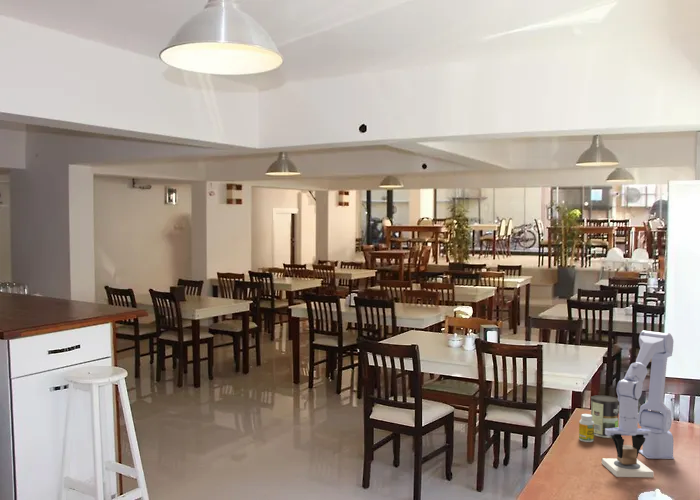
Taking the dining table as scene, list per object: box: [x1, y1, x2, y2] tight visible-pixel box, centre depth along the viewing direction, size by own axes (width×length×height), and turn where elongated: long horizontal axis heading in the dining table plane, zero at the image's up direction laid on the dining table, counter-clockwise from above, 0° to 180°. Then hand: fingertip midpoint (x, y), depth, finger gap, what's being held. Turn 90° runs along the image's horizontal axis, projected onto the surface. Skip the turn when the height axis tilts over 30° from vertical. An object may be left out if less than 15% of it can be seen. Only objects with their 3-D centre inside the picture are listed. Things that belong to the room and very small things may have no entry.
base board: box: [601, 457, 655, 478], centre depth 216 cm, size 12×12×2 cm
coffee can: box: [590, 394, 619, 439], centre depth 254 cm, size 10×10×14 cm
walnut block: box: [616, 444, 638, 465], centre depth 216 cm, size 4×4×5 cm
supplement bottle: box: [578, 413, 595, 443], centre depth 246 cm, size 5×5×10 cm
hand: (627, 457), depth 215 cm, fingers closed on walnut block, 4 cm apart
